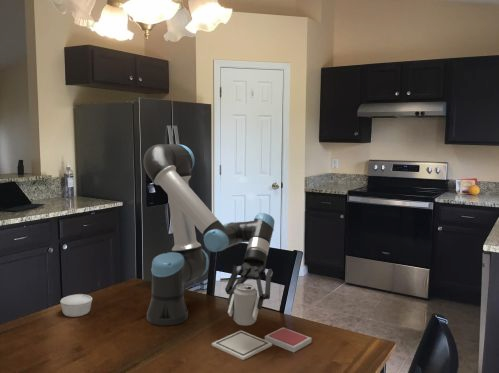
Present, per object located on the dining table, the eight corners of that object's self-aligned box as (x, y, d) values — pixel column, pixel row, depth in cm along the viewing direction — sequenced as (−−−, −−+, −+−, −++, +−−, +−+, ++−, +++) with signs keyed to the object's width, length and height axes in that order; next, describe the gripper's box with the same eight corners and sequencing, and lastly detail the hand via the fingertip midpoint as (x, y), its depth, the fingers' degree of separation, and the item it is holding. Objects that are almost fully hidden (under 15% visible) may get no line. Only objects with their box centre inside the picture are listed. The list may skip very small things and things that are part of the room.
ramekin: (98, 311, 176) (98, 298, 175) (73, 320, 166) (73, 306, 166) (79, 304, 182) (79, 292, 181) (54, 313, 172) (54, 300, 172)
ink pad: (264, 340, 154) (264, 335, 154) (282, 331, 162) (283, 326, 162) (293, 352, 147) (293, 346, 146) (311, 342, 154) (311, 337, 154)
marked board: (211, 345, 150) (211, 342, 150) (240, 332, 160) (240, 330, 160) (243, 360, 141) (243, 357, 141) (272, 345, 151) (272, 342, 151)
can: (254, 327, 145) (254, 290, 144) (231, 325, 146) (231, 288, 145) (258, 318, 152) (259, 283, 151) (236, 316, 154) (236, 281, 152)
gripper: (286, 262, 159) (274, 325, 146) (231, 256, 165) (214, 316, 151) (284, 250, 153) (271, 315, 140) (226, 245, 159) (208, 306, 146)
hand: (241, 315), depth 146 cm, fingers closed on can, 7 cm apart
